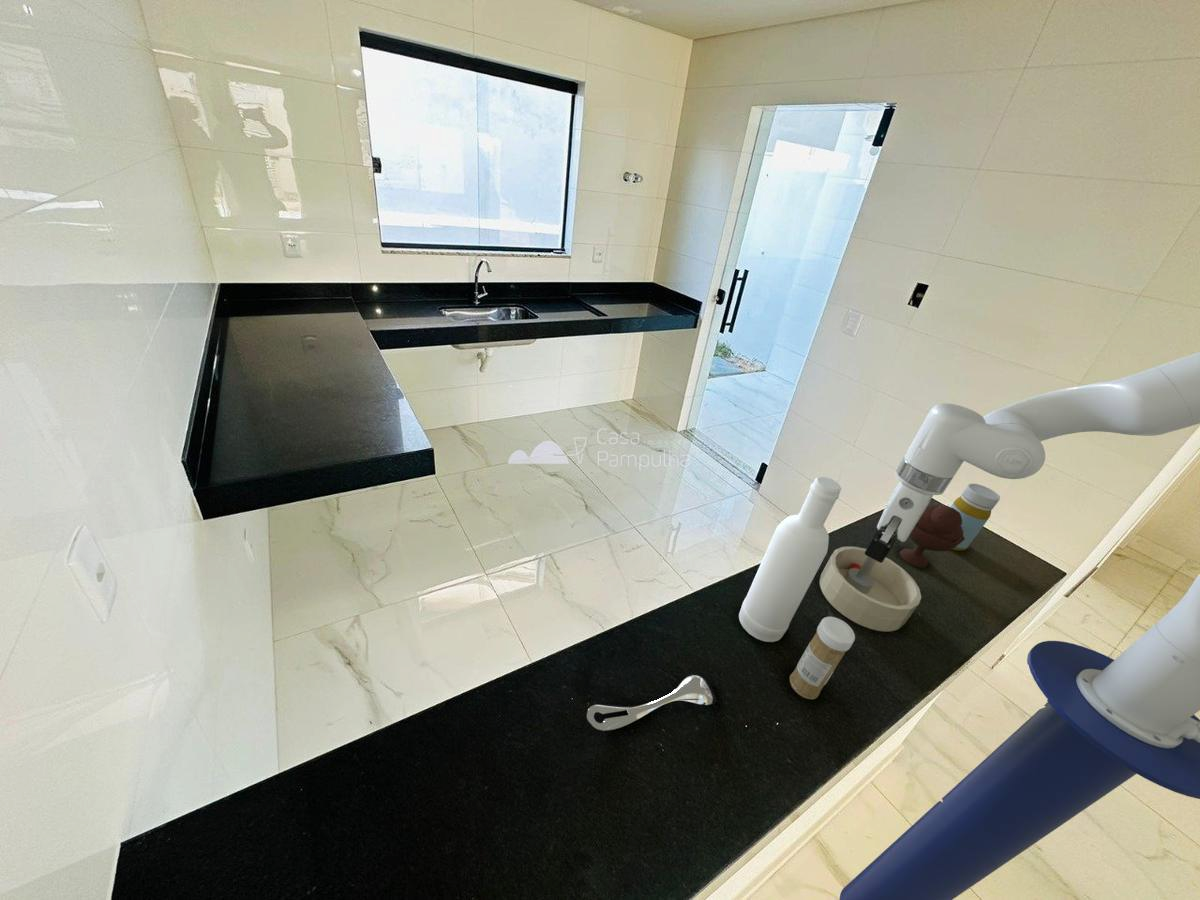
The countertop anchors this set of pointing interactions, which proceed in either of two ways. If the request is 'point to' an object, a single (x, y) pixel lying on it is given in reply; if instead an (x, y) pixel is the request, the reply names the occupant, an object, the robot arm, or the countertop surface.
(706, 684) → the ice cream scoop
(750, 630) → the bottle
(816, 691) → the sprinkles bottle
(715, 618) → the countertop surface
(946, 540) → the ice cream bowl
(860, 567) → the bead
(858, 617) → the mixing bowl
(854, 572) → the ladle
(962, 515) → the bottle
